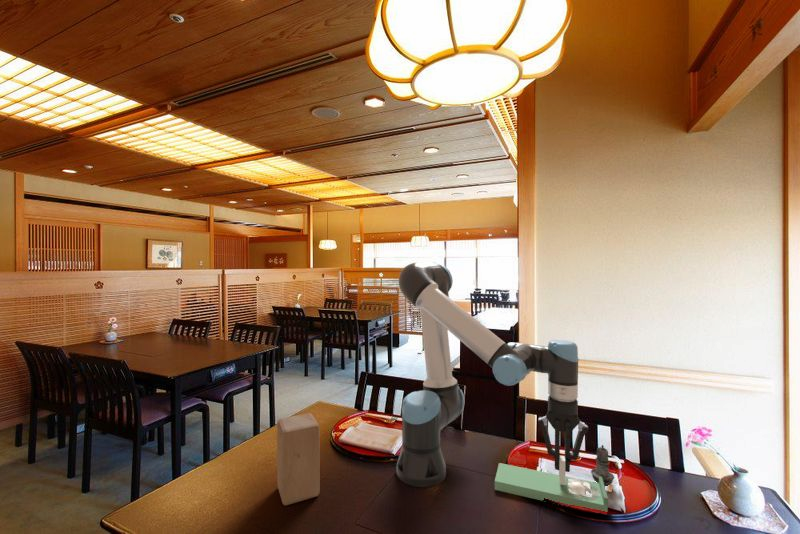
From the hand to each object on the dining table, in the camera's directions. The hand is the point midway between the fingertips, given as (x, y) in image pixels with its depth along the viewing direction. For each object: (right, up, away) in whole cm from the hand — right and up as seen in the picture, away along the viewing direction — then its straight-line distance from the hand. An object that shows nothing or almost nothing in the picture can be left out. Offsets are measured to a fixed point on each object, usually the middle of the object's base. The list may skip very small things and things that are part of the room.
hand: (562, 481), depth 100 cm
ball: (+4, -2, -2) cm, 4 cm away
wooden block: (-74, -4, +1) cm, 74 cm away
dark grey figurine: (+13, -4, +4) cm, 14 cm away
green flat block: (-3, -4, +1) cm, 5 cm away
